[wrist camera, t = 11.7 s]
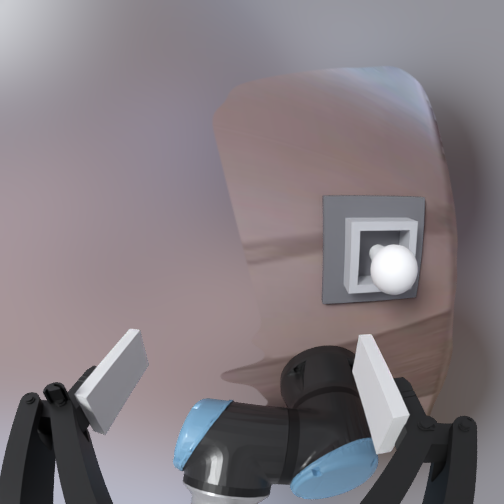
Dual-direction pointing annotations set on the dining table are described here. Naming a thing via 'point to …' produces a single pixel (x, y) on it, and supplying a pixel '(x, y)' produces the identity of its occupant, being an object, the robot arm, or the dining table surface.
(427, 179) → the dining table surface
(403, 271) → the lightbulb
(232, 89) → the dining table surface
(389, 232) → the lamp socket
